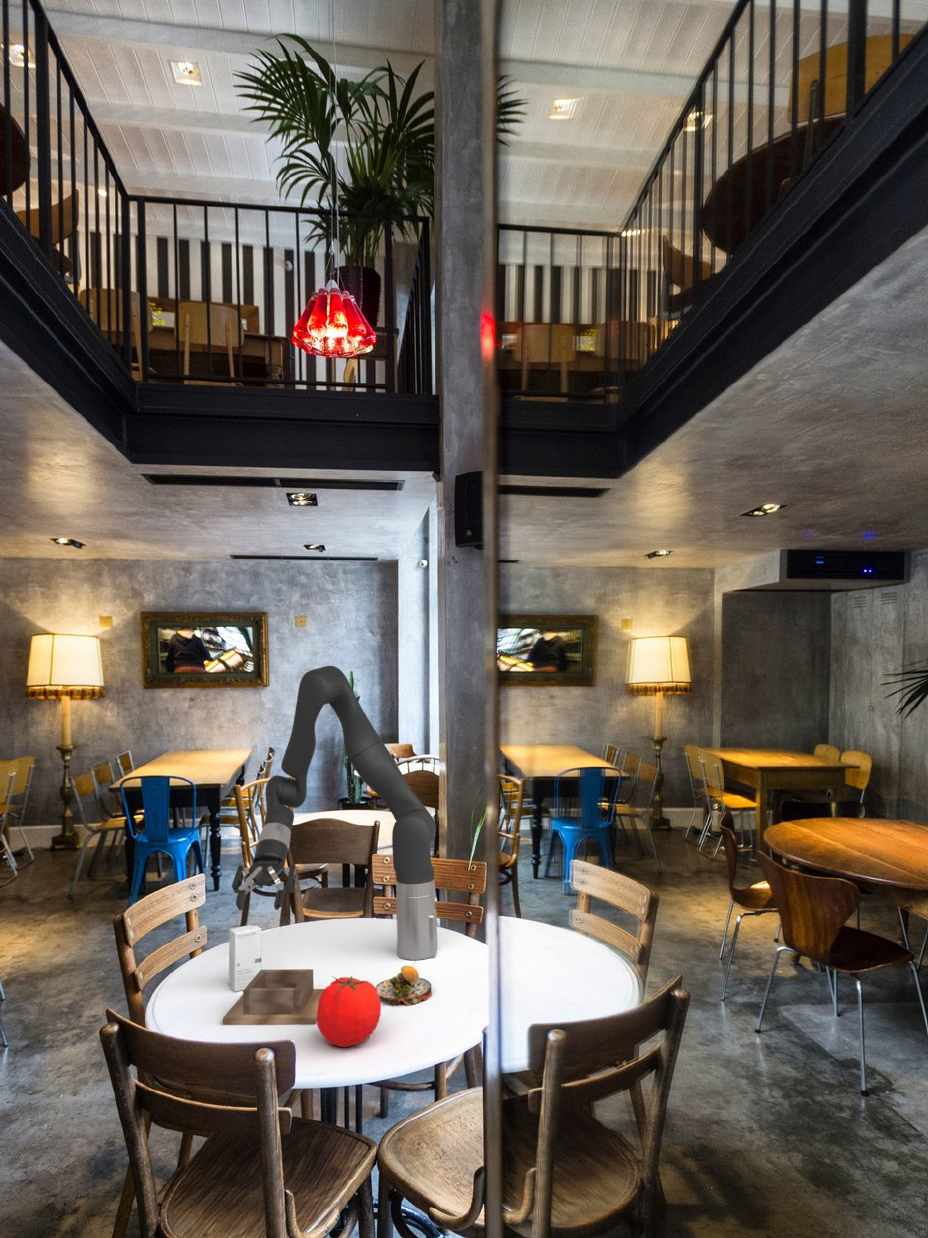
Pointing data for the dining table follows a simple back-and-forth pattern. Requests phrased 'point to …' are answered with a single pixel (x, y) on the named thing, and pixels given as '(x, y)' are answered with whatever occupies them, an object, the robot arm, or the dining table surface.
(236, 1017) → the sleeve stand
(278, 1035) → the dining table surface
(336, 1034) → the tomato
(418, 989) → the plate of food
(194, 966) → the dining table surface
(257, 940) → the skincare box
